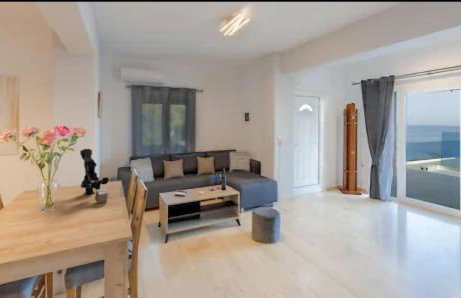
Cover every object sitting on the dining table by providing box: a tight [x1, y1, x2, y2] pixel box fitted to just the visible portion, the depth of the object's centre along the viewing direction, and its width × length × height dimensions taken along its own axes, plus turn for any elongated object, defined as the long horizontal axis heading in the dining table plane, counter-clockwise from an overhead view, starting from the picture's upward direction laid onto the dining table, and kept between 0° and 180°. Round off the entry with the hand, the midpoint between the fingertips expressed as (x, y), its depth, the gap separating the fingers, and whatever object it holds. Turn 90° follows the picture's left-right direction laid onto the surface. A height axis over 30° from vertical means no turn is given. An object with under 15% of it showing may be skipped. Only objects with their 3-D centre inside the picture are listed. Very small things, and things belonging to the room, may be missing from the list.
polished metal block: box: [94, 187, 109, 204], centre depth 191 cm, size 6×6×8 cm
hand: (99, 191), depth 192 cm, fingers closed
